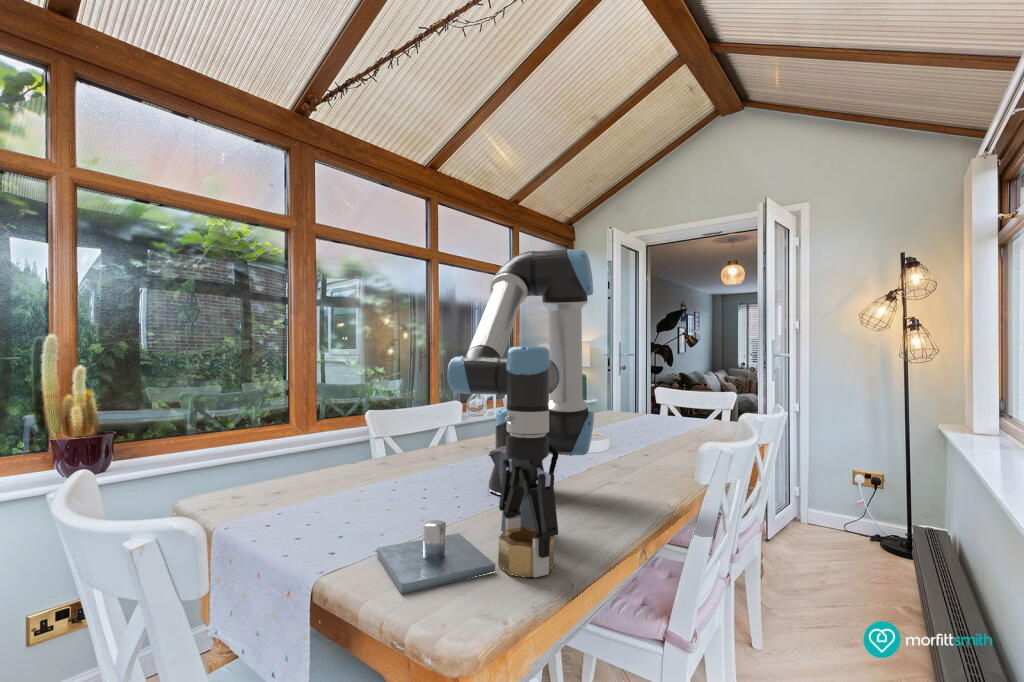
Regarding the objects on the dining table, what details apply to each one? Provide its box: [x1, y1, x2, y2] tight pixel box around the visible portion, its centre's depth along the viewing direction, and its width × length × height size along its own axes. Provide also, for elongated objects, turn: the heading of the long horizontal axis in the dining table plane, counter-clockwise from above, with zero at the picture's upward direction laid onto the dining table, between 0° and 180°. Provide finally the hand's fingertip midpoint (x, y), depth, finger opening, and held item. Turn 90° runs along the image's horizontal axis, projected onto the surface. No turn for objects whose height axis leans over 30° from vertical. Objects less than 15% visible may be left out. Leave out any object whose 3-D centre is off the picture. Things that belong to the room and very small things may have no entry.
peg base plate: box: [376, 519, 496, 595], centre depth 85 cm, size 16×16×7 cm
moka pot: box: [487, 443, 559, 532], centre depth 102 cm, size 10×15×20 cm, turn 111°
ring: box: [497, 527, 555, 578], centre depth 85 cm, size 9×9×5 cm
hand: (525, 563), depth 85 cm, fingers closed on ring, 9 cm apart
